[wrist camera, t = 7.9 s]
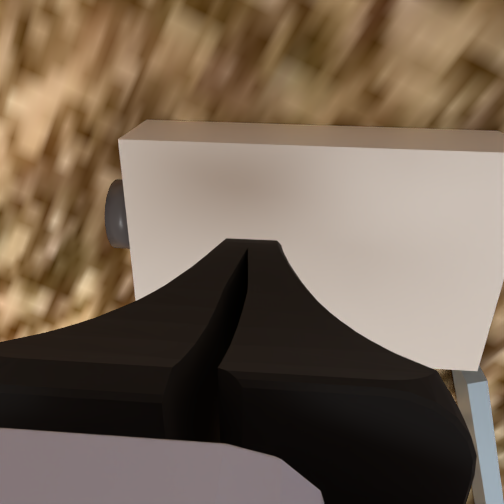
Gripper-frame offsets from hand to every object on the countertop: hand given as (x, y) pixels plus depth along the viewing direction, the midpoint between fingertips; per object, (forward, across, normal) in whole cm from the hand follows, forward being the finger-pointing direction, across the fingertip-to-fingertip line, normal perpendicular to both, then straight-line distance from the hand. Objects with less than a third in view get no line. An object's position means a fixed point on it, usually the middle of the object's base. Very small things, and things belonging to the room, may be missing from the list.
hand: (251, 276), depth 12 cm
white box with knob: (+9, -2, +3) cm, 10 cm away
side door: (+9, -11, +14) cm, 20 cm away
